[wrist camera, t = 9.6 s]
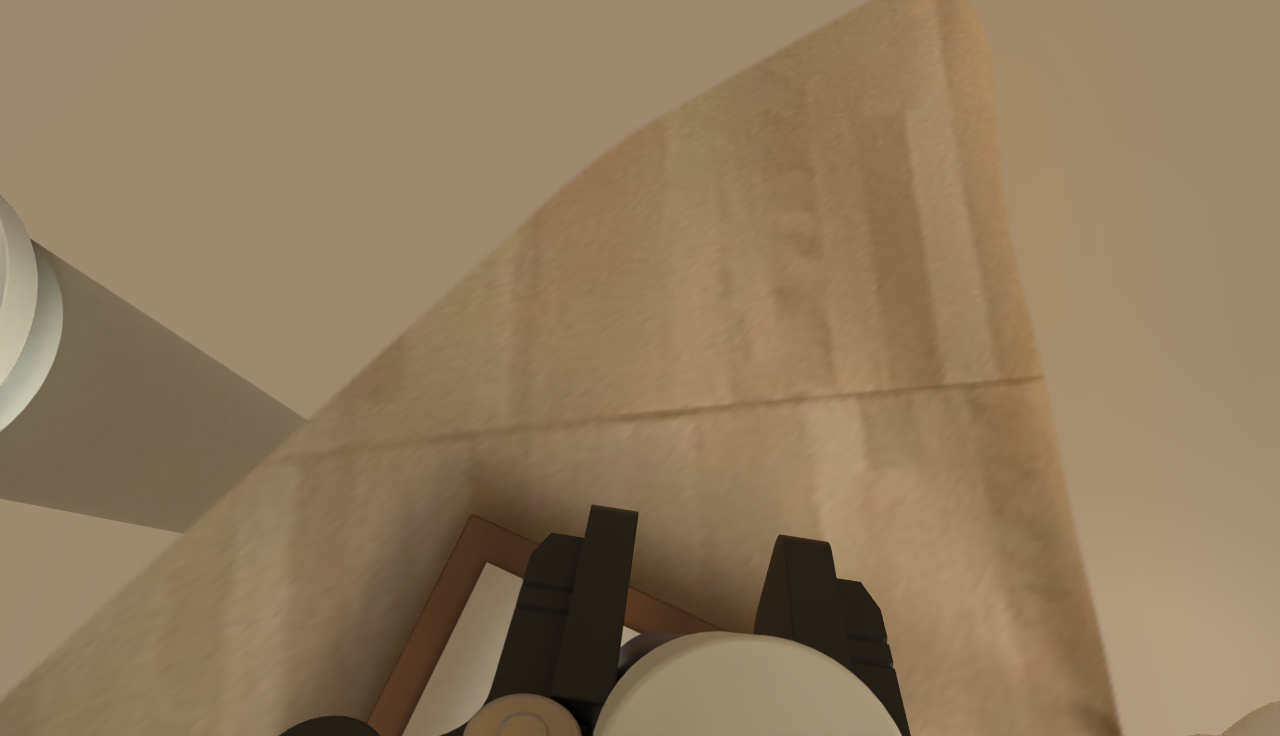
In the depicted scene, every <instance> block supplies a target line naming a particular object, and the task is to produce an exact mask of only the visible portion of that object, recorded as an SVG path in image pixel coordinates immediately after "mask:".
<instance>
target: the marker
mask: <svg viewBox="0 0 1280 736" xmlns="http://www.w3.org/2000/svg"><path fill="white" fill-rule="evenodd" d="M593 736H902V735H901V733H900V731H899V729H898V727H897V725H896V724H895V722H894V721H893V719H892V718H891V716H890V715H889V713H888V712H887V710H886V709H885V707H884V706H883V704H882V703H881V702H880V701H879V700H878V698H877V697H876V696H875V695H874V694H873V693H872V691H871V690H870V689H869V688H868V687H867V686H866V685H865V684H864V683H863V682H862V681H861V680H859V679H858V678H857V677H856V676H855V675H854V674H853V673H852V672H851V671H849V670H848V669H846V668H845V667H844V666H842V665H841V664H839V663H838V662H837V661H835V660H834V659H832V658H830V657H828V656H827V655H825V654H823V653H821V652H819V651H817V650H815V649H813V648H811V647H808V646H805V645H803V644H800V643H797V642H795V641H791V640H787V639H783V638H778V637H774V636H765V635H754V634H743V633H732V632H721V631H716V632H701V633H696V634H690V635H682V634H676V633H671V632H664V631H652V632H646V633H643V634H640V635H638V636H636V637H634V638H632V639H630V640H629V641H627V642H626V643H625V644H624V645H623V646H622V647H621V648H620V655H619V663H618V670H617V678H616V685H615V687H614V689H613V690H612V692H611V693H610V695H609V696H608V698H607V700H606V702H605V704H604V706H603V708H602V710H601V712H600V715H599V718H598V721H597V723H596V726H595V729H594V733H593Z"/></svg>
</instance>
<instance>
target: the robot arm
mask: <svg viewBox="0 0 1280 736" xmlns="http://www.w3.org/2000/svg"><path fill="white" fill-rule="evenodd" d="M637 521H638V512H636V511H630V510H624V509H617V508H611V507H605V506H598V505H592V506H591V510H590V514H589V519H588V524H587V528H586V533H585V538H581V537H574V536H568V535H562V534H555V533H551V534H550V535H549V536H548V537H547V538H546V539H545V540H544V541H543V542H542V543H541V544H540V545H539V546H538V547H537V548H536V549H535V550H534V551H533V552H532V553H531V555H530V558H529V562H528V565H527V568H526V572H525V575H524V579H523V583H522V586H521V589H520V592H519V595H518V599H517V602H516V608H515V609H514V612H513V616H512V619H511V622H510V626H509V629H508V632H507V636H506V639H505V643H504V646H503V649H502V653H501V656H500V659H499V663H498V666H497V670H496V673H495V676H494V680H493V683H492V686H491V690H490V692H489V695H488V697H487V699H486V701H485V703H484V704H483V706H482V707H481V708H480V710H479V711H477V712H476V713H475V714H474V716H473V717H472V718H471V719H470V720H468V721H467V722H466V723H464V724H463V725H461V726H460V727H458V728H456V729H454V730H452V731H450V732H448V733H446V734H443V735H440V736H593V733H594V729H595V726H596V723H597V721H598V718H599V715H600V712H601V710H602V708H603V706H604V704H605V702H606V700H607V698H608V696H609V695H610V693H611V692H612V690H613V689H614V687H615V685H616V678H617V670H618V663H619V655H620V648H621V640H622V633H623V625H624V618H625V610H626V603H627V595H628V588H629V581H630V573H631V566H632V558H633V551H634V543H635V536H636V528H637ZM754 635H765V636H774V637H778V638H783V639H787V640H791V641H795V642H797V643H800V644H803V645H805V646H808V647H811V648H813V649H815V650H817V651H819V652H821V653H823V654H825V655H827V656H828V657H830V658H832V659H834V660H835V661H837V662H838V663H839V664H841V665H842V666H844V667H845V668H846V669H848V670H849V671H851V672H852V673H853V674H854V675H855V676H856V677H857V678H858V679H859V680H861V681H862V682H863V683H864V684H865V685H866V686H867V687H868V688H869V689H870V690H871V691H872V693H873V694H874V695H875V696H876V697H877V698H878V700H879V701H880V702H881V703H882V704H883V706H884V707H885V709H886V710H887V712H888V713H889V715H890V716H891V718H892V719H893V721H894V722H895V724H896V725H897V727H898V729H899V731H900V733H901V735H902V736H911V735H910V731H909V727H908V722H907V718H906V714H905V710H904V706H903V701H902V697H901V693H900V689H899V685H898V681H897V676H896V672H895V669H893V660H892V656H891V651H890V647H889V644H887V635H886V630H885V626H884V622H883V618H882V614H881V610H880V608H879V607H878V605H877V604H876V603H875V601H874V600H873V599H872V597H871V596H870V594H869V593H868V592H867V590H866V589H865V588H864V586H863V585H862V583H861V582H857V581H851V580H844V579H838V578H836V572H835V567H834V561H833V556H832V550H831V546H830V544H829V543H828V542H825V541H818V540H812V539H806V538H799V537H793V536H787V535H779V536H778V538H777V540H776V542H775V546H774V549H773V553H772V557H771V561H770V564H769V568H768V572H767V575H766V579H765V583H764V587H763V590H762V594H761V598H760V602H759V605H758V609H757V614H756V620H755V627H754ZM279 736H380V735H379V733H378V732H377V731H376V730H375V729H374V728H372V727H371V726H369V725H368V724H366V723H365V722H363V721H360V720H357V719H355V718H350V717H345V716H325V717H319V718H314V719H310V720H308V721H305V722H302V723H299V724H298V725H296V726H294V727H292V728H290V729H288V730H287V731H285V732H284V733H282V734H281V735H279Z"/></svg>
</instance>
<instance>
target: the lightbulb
mask: <svg viewBox="0 0 1280 736" xmlns="http://www.w3.org/2000/svg"><path fill="white" fill-rule="evenodd" d="M1191 736H1213V735H1200V734H1196V735H1191ZM1219 736H1280V701H1279V702H1274V703H1269V704H1267V705H1265V706H1263V707H1261V708H1259V709H1257V710H1254V711H1252V712H1251V713H1249V714H1248V715H1246V716H1245V717H1244V718H1242V719H1241V720H1239V721H1238V722H1236V723H1235V724H1234V725H1233V726H1231V727H1230V728H1229V729H1228V730H1226V731H1225V732H1224V733H1222V734H1221V735H1219Z"/></svg>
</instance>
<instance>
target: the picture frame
mask: <svg viewBox="0 0 1280 736" xmlns="http://www.w3.org/2000/svg"><path fill="white" fill-rule="evenodd" d="M538 546H539V544H537V543H535V542H533V541H530V540H528V539H526V538H524V537H522V536H520V535H517V534H515V533H513V532H511V531H509V530H507V529H504V528H502V527H500V526H498V525H496V524H494V523H491V522H489V521H487V520H485V519H483V518H481V517H479V516H476V515H474V514H472V515H470V517H469V519H468V521H467V523H466V525H465V527H464V529H463V531H462V533H461V535H460V537H459V539H458V541H457V543H456V545H455V547H454V549H453V551H452V553H451V555H450V557H449V559H448V561H447V563H446V565H445V567H444V569H443V571H442V573H441V575H440V577H439V579H438V581H437V583H436V585H435V587H434V589H433V591H432V593H431V595H430V597H429V599H428V601H427V603H426V605H425V607H424V609H423V611H422V613H421V615H420V617H419V619H418V621H417V623H416V625H415V627H414V629H413V631H412V633H411V635H410V637H409V639H408V641H407V643H406V645H405V647H404V649H403V651H402V653H401V655H400V657H399V659H398V661H397V663H396V665H395V667H394V669H393V671H392V672H391V674H390V676H389V678H388V680H387V682H386V684H385V686H384V688H383V690H382V692H381V694H380V696H379V698H378V700H377V702H376V704H375V706H374V708H373V710H372V712H371V714H370V716H369V718H368V720H367V722H366V724H368V725H369V726H371V727H372V728H374V729H375V730H376V731H377V732H378V733H379V735H380V736H440V735H443V734H446V733H448V732H450V731H452V730H454V729H456V728H458V727H460V726H461V725H463V724H464V723H466V722H467V721H468V720H470V719H471V718H472V717H473V716H474V714H475V713H476V712H477V711H479V710H480V708H481V707H482V706H483V704H484V703H485V701H486V699H487V697H488V695H489V692H490V690H491V686H492V683H493V680H494V676H495V673H496V670H497V666H498V663H499V659H500V656H501V653H502V649H503V646H504V643H505V639H506V636H507V632H508V629H509V626H510V622H511V619H512V616H513V612H514V609H515V608H516V602H517V599H518V595H519V592H520V589H521V586H522V583H523V579H524V575H525V572H526V568H527V565H528V562H529V558H530V555H531V553H532V552H533V551H534V550H535V549H536V548H537V547H538ZM652 631H664V632H671V633H676V634H682V635H690V634H696V633H701V632H716V631H721V632H727V631H725V630H723V629H721V628H719V627H717V626H715V625H712V624H710V623H708V622H706V621H704V620H702V619H699V618H697V617H695V616H693V615H691V614H689V613H686V612H684V611H682V610H680V609H678V608H676V607H673V606H671V605H669V604H667V603H665V602H663V601H660V600H658V599H656V598H654V597H652V596H650V595H647V594H645V593H643V592H641V591H639V590H637V589H634V588H632V587H630V586H629V588H628V595H627V603H626V610H625V618H624V625H623V633H622V640H621V647H622V646H623V645H624V644H625V643H626V642H627V641H629V640H630V639H632V638H634V637H636V636H638V635H640V634H643V633H646V632H652Z"/></svg>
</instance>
